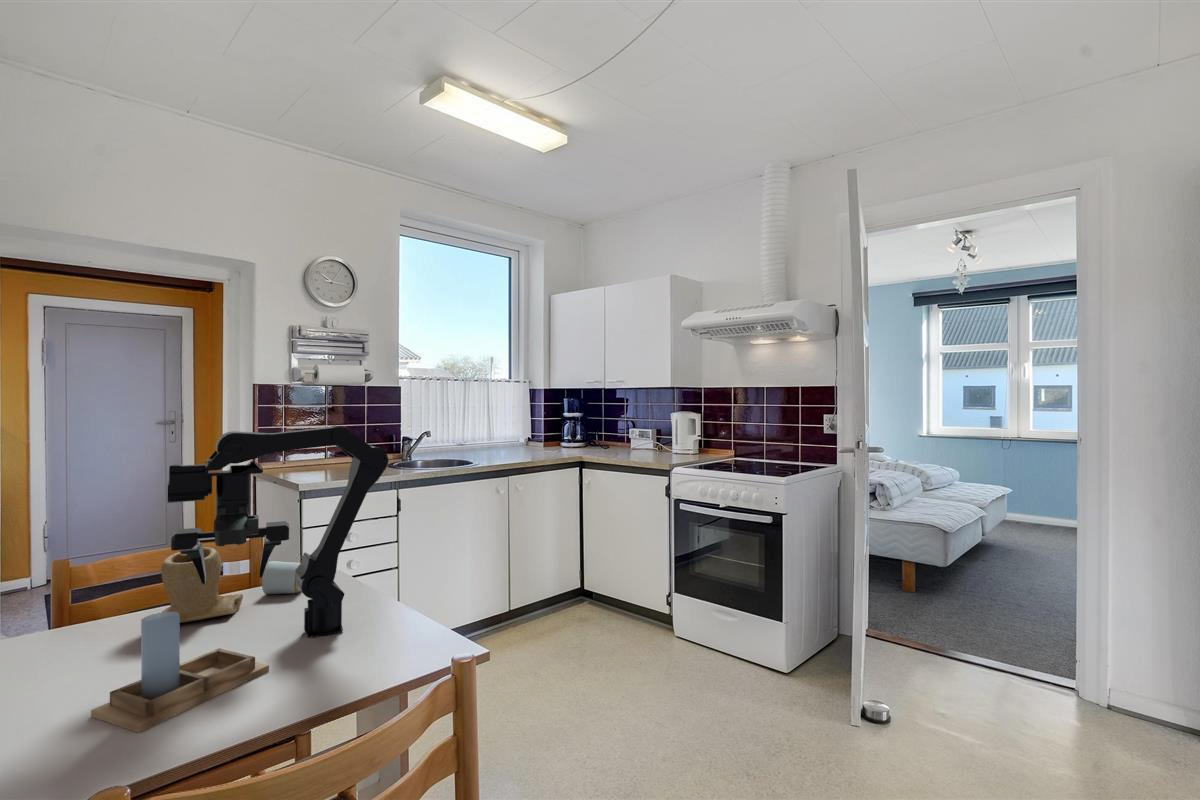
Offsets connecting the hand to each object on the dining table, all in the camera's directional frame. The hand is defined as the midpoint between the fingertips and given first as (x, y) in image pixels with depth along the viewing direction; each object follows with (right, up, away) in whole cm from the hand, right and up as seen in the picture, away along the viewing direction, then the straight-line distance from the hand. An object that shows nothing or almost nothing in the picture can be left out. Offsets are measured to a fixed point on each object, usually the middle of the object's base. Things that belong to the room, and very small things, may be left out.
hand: (232, 580), depth 113 cm
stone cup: (-16, -13, +15) cm, 26 cm away
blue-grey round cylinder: (+1, -12, -20) cm, 24 cm away
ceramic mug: (-8, -13, +34) cm, 37 cm away
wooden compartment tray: (+3, -13, -17) cm, 21 cm away
